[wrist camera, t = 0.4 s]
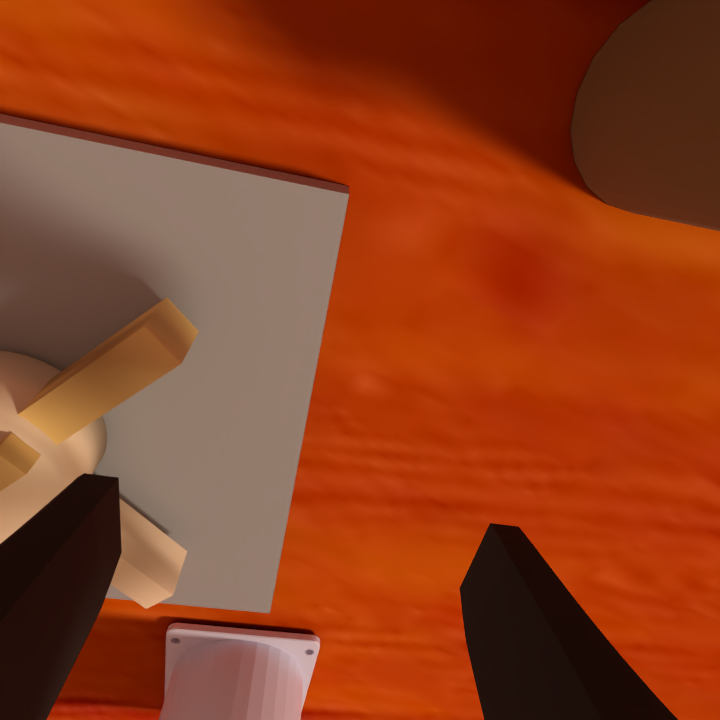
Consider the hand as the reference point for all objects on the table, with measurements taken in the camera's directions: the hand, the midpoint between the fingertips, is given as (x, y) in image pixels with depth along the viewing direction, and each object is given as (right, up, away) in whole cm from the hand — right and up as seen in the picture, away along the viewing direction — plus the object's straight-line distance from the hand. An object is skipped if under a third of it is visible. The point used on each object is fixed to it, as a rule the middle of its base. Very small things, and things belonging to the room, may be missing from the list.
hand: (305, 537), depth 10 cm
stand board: (-11, +2, +9) cm, 15 cm away
